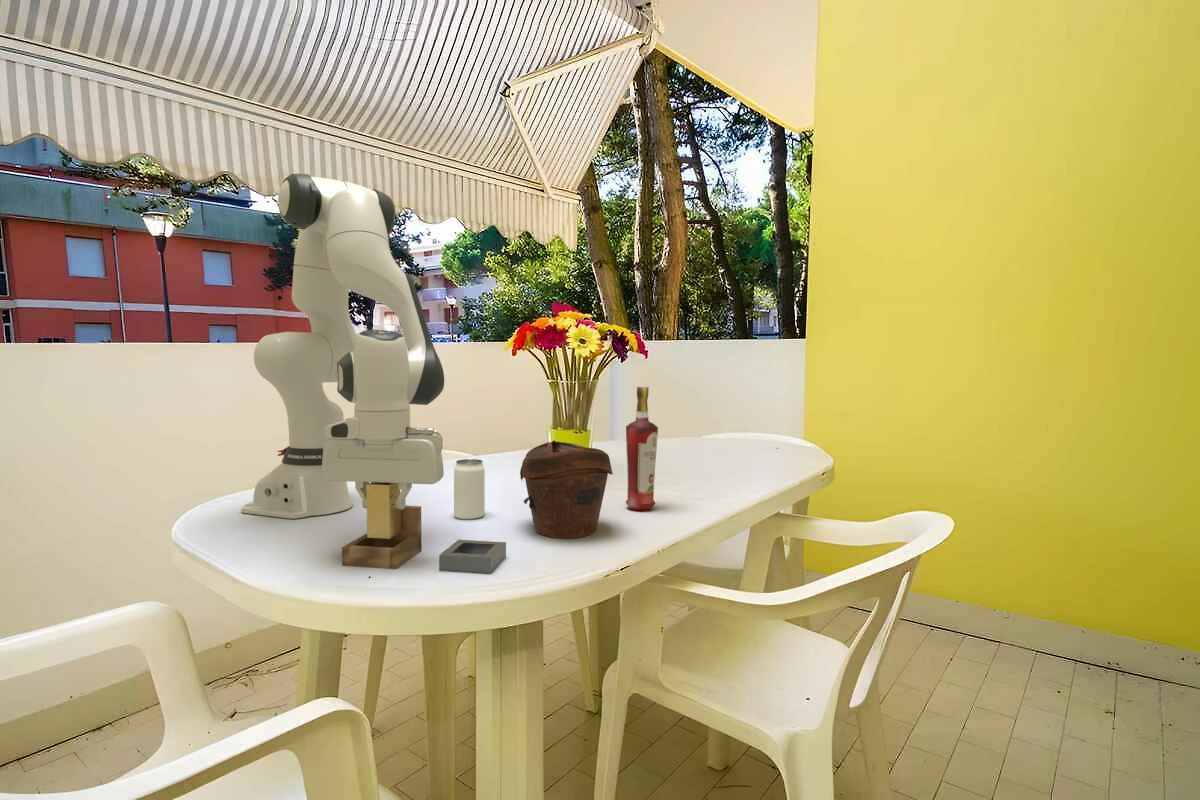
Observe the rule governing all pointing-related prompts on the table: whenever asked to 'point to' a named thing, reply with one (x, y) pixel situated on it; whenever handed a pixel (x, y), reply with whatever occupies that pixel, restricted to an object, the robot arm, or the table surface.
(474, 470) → the can
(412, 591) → the table surface
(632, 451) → the liquor
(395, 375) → the robot arm
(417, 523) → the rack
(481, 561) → the socket block
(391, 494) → the brass peg block
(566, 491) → the case
